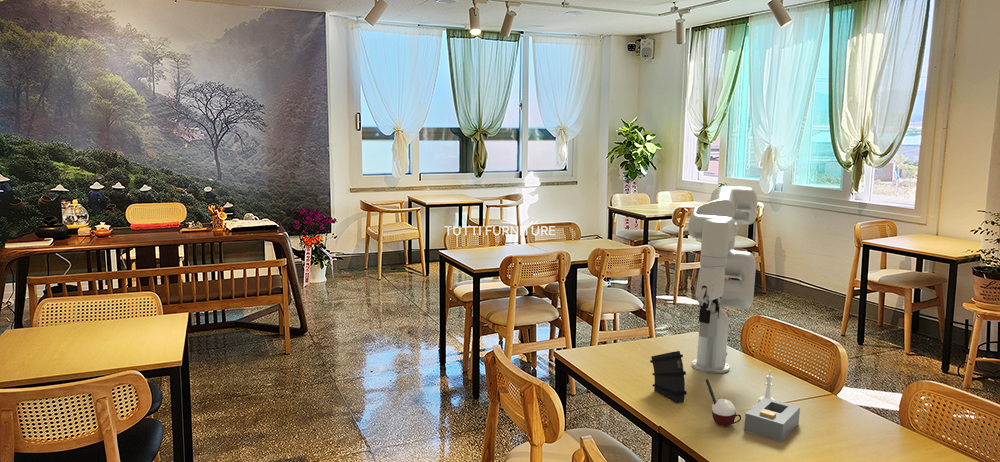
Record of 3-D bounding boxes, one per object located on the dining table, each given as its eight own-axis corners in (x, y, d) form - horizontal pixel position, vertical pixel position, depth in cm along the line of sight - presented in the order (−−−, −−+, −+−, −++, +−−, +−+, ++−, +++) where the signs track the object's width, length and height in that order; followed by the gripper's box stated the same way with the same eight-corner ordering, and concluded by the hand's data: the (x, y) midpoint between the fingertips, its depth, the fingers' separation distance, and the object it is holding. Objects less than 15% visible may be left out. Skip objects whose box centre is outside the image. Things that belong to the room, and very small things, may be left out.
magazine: (683, 403, 198) (671, 351, 201) (656, 405, 209) (645, 357, 213) (693, 401, 199) (681, 350, 203) (665, 404, 211) (655, 356, 214)
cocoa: (743, 426, 186) (746, 385, 185) (729, 432, 183) (733, 390, 181) (713, 414, 194) (717, 374, 192) (700, 419, 190) (703, 379, 188)
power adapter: (717, 335, 201) (720, 296, 199) (706, 338, 198) (709, 298, 196) (708, 332, 204) (711, 294, 202) (697, 335, 200) (700, 296, 199)
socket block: (762, 413, 196) (764, 394, 195) (798, 423, 189) (800, 404, 188) (743, 430, 184) (745, 410, 183) (781, 441, 178) (783, 421, 177)
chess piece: (775, 400, 206) (778, 369, 204) (776, 406, 201) (779, 374, 200) (758, 397, 208) (761, 366, 206) (758, 403, 203) (761, 372, 201)
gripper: (713, 255, 206) (708, 312, 209) (688, 263, 193) (684, 323, 196) (737, 259, 201) (732, 317, 204) (713, 267, 188) (708, 329, 191)
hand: (708, 319), depth 200 cm, fingers closed on power adapter, 5 cm apart
